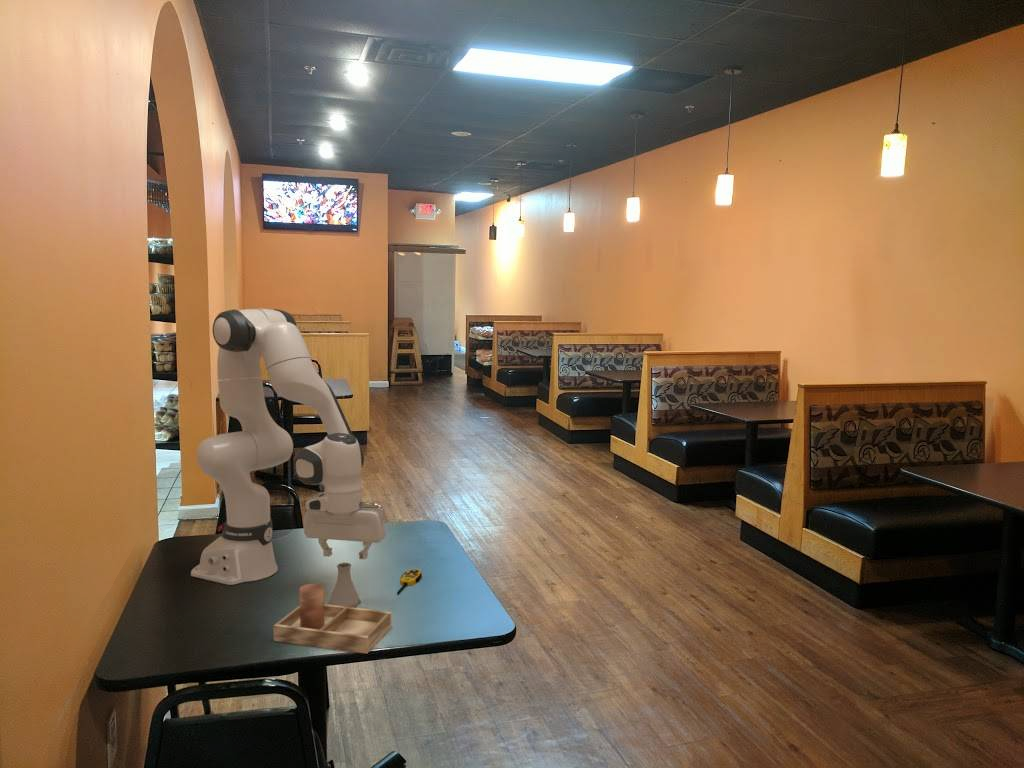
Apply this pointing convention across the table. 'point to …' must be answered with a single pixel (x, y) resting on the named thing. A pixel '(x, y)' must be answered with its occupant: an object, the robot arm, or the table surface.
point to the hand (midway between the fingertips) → (345, 557)
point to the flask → (344, 588)
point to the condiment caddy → (331, 624)
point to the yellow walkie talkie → (410, 578)
